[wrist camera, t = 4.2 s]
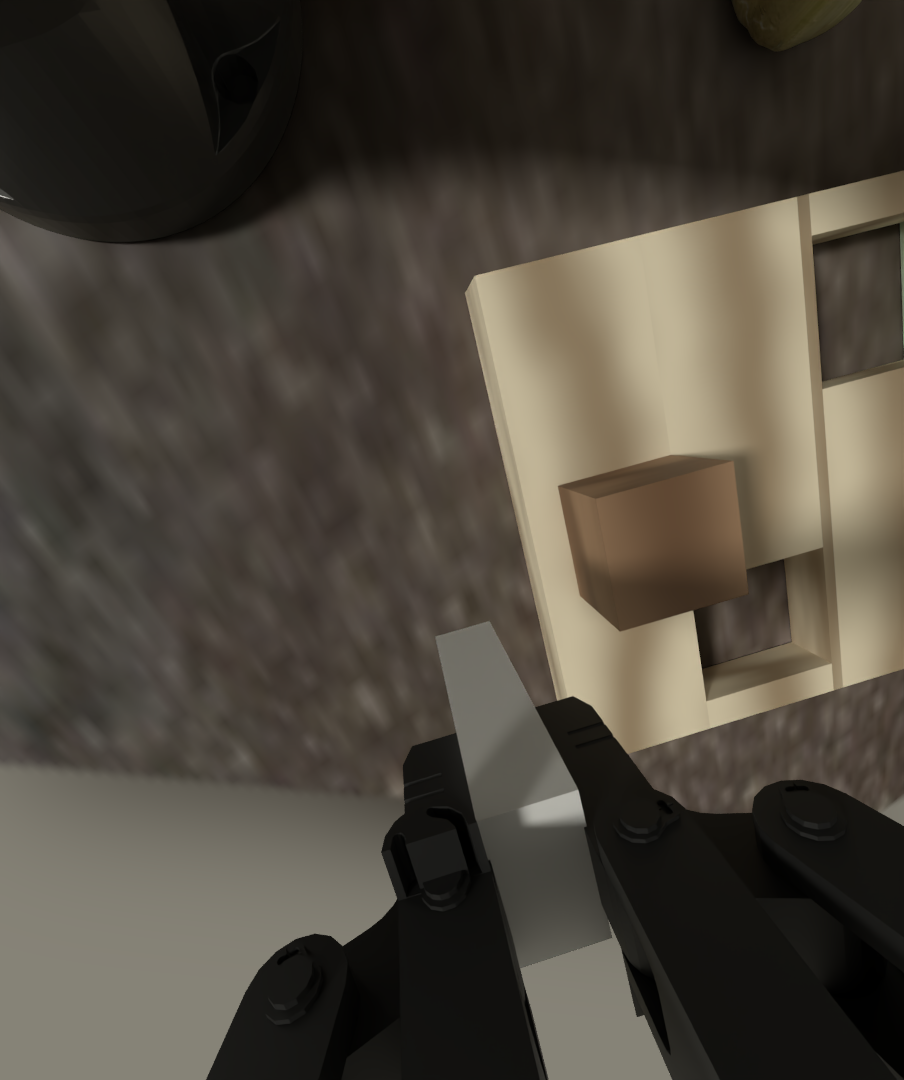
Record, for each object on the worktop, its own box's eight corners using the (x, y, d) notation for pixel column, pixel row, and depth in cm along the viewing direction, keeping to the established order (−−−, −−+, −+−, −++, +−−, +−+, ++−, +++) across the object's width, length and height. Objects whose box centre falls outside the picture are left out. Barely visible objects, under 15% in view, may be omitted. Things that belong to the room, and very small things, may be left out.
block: (579, 595, 22) (620, 631, 18) (557, 485, 21) (595, 499, 17) (686, 565, 22) (748, 594, 18) (670, 454, 21) (733, 460, 17)
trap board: (565, 736, 26) (604, 805, 22) (465, 293, 21) (487, 253, 16) (1043, 591, 28) (1179, 625, 23) (1059, 146, 23) (1240, 70, 18)
